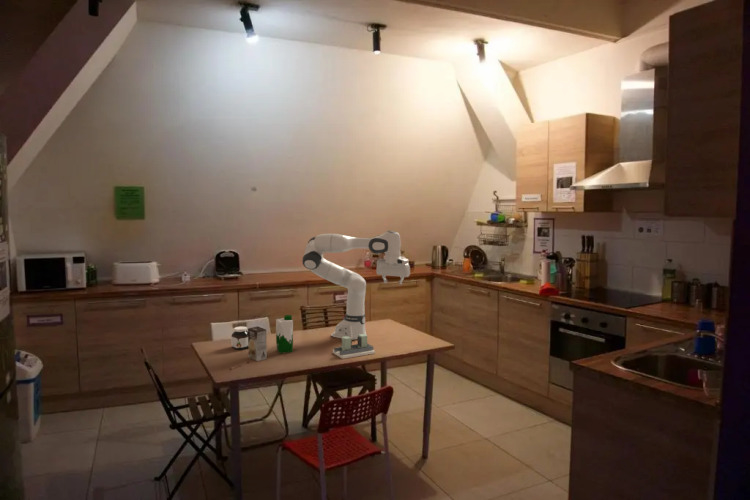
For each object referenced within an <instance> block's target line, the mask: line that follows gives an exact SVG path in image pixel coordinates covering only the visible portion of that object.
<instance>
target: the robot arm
mask: <svg viewBox="0 0 750 500" xmlns="http://www.w3.org/2000/svg"><path fill="white" fill-rule="evenodd" d="M401 247H402V243H401V235H400V233H399V232H397V231H392V230H387V231H386V232H384V233H382V234H378V235H376V236H372V237H354V236H350V235H345V234H340V233H321V234H317V235H316V236H314V237H311V238H310V239H309V240H308V242H307V244H306V246H305V249H304V253H303V256H302V259H301V260H302V265H303V266H304V268H306V269H308V270H310V271H311V272H312V273H313V274H314V275H316V276H318V277H320V278H321V279H324V280H326V281H328V282H331V284H332V283H333V284H335V285H338V286H340V287H342V288H343V287H344V288H346V289H347V298H346V313H345V314H344V315H342V318H343V320H341V321H340V322H338V324H336V326H335V329H334V331H333V332H331V334H330V336H331V337H334V338H338V339H341V340H342V337H345V336H348V337H350V338H351V340H352V341H353V340H358V335H359V334H365V335H367V332H366V313H365V303H366V302H365V299H366V294H367V293H366V291H367V281H366V280H365V278H364V277H363V276H362V275H360V274H359V273H357V272H355V271H353V270H350V269H348V268H345V267H342V266H340V265H339V264H337V263H334V262H332V261H330V260H327V259H325V258H324V254H326V253H331V254H338V253H339V254H340V253H346V252H349V251H351V250H354V249H368V250H369V251H370V252H371V253H373V254H376V255H378V254H382V253H384V255H385V256H384V258H379V259H377V260H376V268H375V269H376V272H375V273H376V275H377V276H381V278H382V280H383V283H384V284H388V279H387V278H386V277H388V276H389V277H400V279H399V280H398V285H403V281H404V279H405V278H409V277H410V276H411V266H410V264H409V263H410V260H409V259H408V258H406V257H403V256H401V255H402V254H401ZM367 336H368V335H367Z"/></svg>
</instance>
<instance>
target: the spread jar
mask: <svg viewBox="0 0 750 500" xmlns="http://www.w3.org/2000/svg"><path fill="white" fill-rule="evenodd" d="M233 329H234V331H233V332H232V334H231V337H230V341H231V342H230V343H231V347H232V348H233V349H235V350H246V349H248V327H246V326H235V327H234V328H233Z"/></svg>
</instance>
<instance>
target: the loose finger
mask: <svg viewBox="0 0 750 500" xmlns="http://www.w3.org/2000/svg"><path fill="white" fill-rule="evenodd" d="M352 342H353V340H351V338H350V337H348V336H345V337H342V339H341V347H342V351H343V350H350V349H351V348H352V345H353V343H352Z"/></svg>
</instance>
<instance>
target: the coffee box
mask: <svg viewBox="0 0 750 500" xmlns="http://www.w3.org/2000/svg"><path fill="white" fill-rule="evenodd" d="M247 331H248V347H247V351H248V353H247V354H248V355H247V357H248V358H249V359H251V360H254V361H255V362H259V361H264V360H267V352H268V351H267V329H266V328H262V327H260V326H253V327H247Z"/></svg>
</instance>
